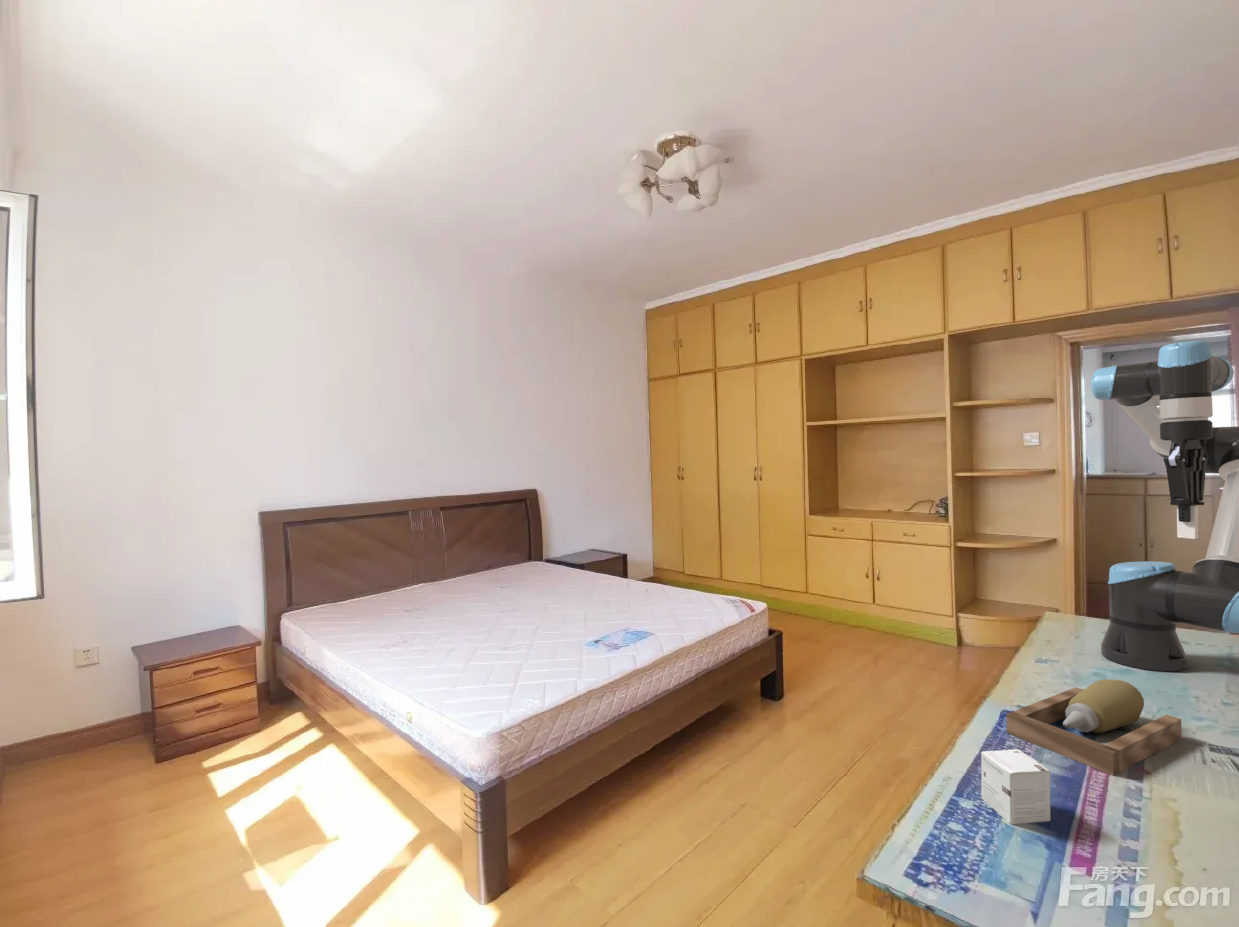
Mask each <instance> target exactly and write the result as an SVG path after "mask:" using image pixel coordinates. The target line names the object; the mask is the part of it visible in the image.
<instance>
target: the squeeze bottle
mask: <svg viewBox="0 0 1239 927" xmlns="http://www.w3.org/2000/svg"><path fill="white" fill-rule="evenodd" d="M1144 700H1145V699H1144V697H1143V695H1142V693H1141V691H1139V689H1138V688H1136V687H1135V686H1134V685H1133V684H1131V683H1129V682H1127V681H1124V680H1121V679H1120V680H1119V679H1098V680H1096V681H1095V682H1093V683H1092V684H1089V686H1087V687H1086V688H1084V689H1083V691H1081V692H1080V693H1079V694H1077V695H1076V696H1074V697H1073V698H1072V699H1071V700H1070V702H1069V704H1068V705H1069V707H1067V708H1066V711H1065V714H1066V718H1064V720H1063V722H1062V726H1063V727H1064V728H1066V729H1074V728H1075V729H1076V730H1077V731H1080V732H1082V733H1093V734H1102V733H1106V732H1109V731H1113V730H1115V729H1119V728H1121V727H1124V726H1129V725H1131V724H1133V723H1135V722H1137V721H1138V720H1139V718H1140V716H1141V715H1142V712H1143V709H1144V706H1145V701H1144Z"/></svg>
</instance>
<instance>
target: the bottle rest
mask: <svg viewBox="0 0 1239 927" xmlns="http://www.w3.org/2000/svg"><path fill="white" fill-rule="evenodd" d="M1083 690H1084V689H1083V688H1080V687H1075V686H1074V687H1073V688H1070V689H1068V690H1064V691H1062V692H1060V693H1057V694H1055V695H1052V696H1049V697H1047V698H1044V699H1041V700H1039V701H1037V702H1034V703H1031V704H1029V705H1026V706H1024V707H1020V708H1018V709H1016V710H1013V711H1011V712H1008V713H1006V734H1009V735H1011V736H1013V737H1015V738H1019V739H1020V740H1021V739H1022V740H1023V741H1026V742H1028V743H1031V744H1033V745H1036V746H1038V747H1041V748H1044V749H1045V750H1049V751H1051V752H1053V753H1056V754H1059V755H1061V756H1063V757H1066V758H1068V759H1071V760H1074V761H1076V762H1078V763H1081V764H1084V765H1086V766H1088V767H1091V768H1092V769H1096V770H1099V771H1101V772H1104V773H1106V774H1108V775H1111V776H1116V775H1117V774H1119V773H1122V772H1123V771H1125V770H1126V769H1129V768H1130V767H1132V766H1134V765H1136V764H1137V763H1140V762H1141V761H1144V760H1146V759H1147V758H1150V757H1151V756H1152V755H1154V754H1157V753H1159V752H1160V751H1162V750H1163V749H1167V747H1169V746H1171V745H1173V744H1175V743H1176V742H1177V743H1178V742H1179V741H1181V740H1182V719H1181V718H1179V717H1175V716H1173V715H1172V716H1171V715H1170V714H1169V715H1168V714H1164V715H1162V716H1161V717H1159V718H1156V719H1154V720H1153V721H1151V722H1147V724H1144V725H1143V726H1140V727H1138V728H1136V729H1134V730H1131V731H1130V732H1128V733H1126V734H1123V735H1121V736H1120V737H1117V738H1115V739H1113V740H1111V741H1110V742H1107V743H1105V744H1103V743H1101V742H1098V741H1096V740H1092V739H1090V738H1087V737H1084V736H1082V735H1079V734H1075V733H1074V732H1071V731H1068V730H1065V729H1062V728H1060V727H1057V726H1055V725H1052V724H1054V722H1055V723H1056V721H1057V722H1059V721H1062V720H1065V719H1066V714H1065V711H1066V708H1067V707H1069V705H1068V704H1069V702H1070V700H1071V699H1072V698H1073V697H1074V696H1076V695H1077V694H1079V693H1080V692H1081V691H1083ZM1061 719H1062V720H1061ZM1058 720H1059V721H1058ZM1049 724H1050V725H1049Z"/></svg>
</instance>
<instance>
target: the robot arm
mask: <svg viewBox="0 0 1239 927" xmlns="http://www.w3.org/2000/svg"><path fill="white" fill-rule="evenodd" d="M1157 359H1158V360H1157V361H1156V360H1155V361H1147V362H1146V361H1145V362H1141V363H1130V364H1120V365H1116V364H1115V365H1112V366H1108V367H1102V368H1101V367H1100V368H1098V369H1097V370H1095V371H1094V372H1093V374H1092V377H1091V379H1090V380H1091V381H1090V386H1091V387H1090V388H1091V392H1092V395H1093V396H1094V398H1095V399H1097V400H1101V401H1105V400H1106V401H1107V400H1108V401H1111V400H1115V401H1116V402H1117V404H1119V405H1120V407H1121V408H1122V409H1123V410H1124V411H1125V412H1126V413H1127V414H1128V415H1129V417H1130V418H1131V419H1132V420H1133V421H1134V422H1135V423H1136V425H1138V426H1139V428H1140V429H1141V430H1142V431H1143V432H1144V433H1145V434H1146V436H1147V437H1148V438H1149V439H1150V440H1149V443H1150V446H1151V448H1152V449H1153V451H1154V452H1156V454H1157V455H1159V456H1160V457H1161V458H1163V462H1164V465H1165V469H1166V475H1167V476H1166V477H1167V482H1168V489H1169V490H1168V491H1169V496H1170V502H1169V504H1170V506H1176V535H1177V536H1176V537H1177V538H1179V539H1180V538H1181V539H1182V538H1183V539H1191V540H1192V539H1193V540H1196V539H1197V540H1198V539H1199V506H1205V501H1204V494H1205V493H1204V492H1205V484H1206V483H1205V482H1206V474H1215V475H1216V474H1219V476H1220V478H1221V479H1222V480H1223V481H1224V485H1223V489H1222V493H1221V496H1220V500H1219V504H1218V508H1217V512H1216V515H1215V519H1214V524H1213V528H1212V531H1211V535H1210V538H1209V544H1208V546H1207V551H1206V556H1205V558H1202V559H1199V560H1197V561H1196V562H1194V564H1193V567H1192V570H1191V571H1182V570H1176V569H1177V567H1176V566H1175V564H1174V563H1172V562H1166V561H1154V560H1153V561H1151V560H1150V561H1144V560H1143V561H1128V562H1120V563H1116V564H1113V565H1111V567H1110V568H1109V570H1108V571H1109V572H1108V573H1109V574H1108V575H1109V576H1108V581H1107V584H1108V602H1109V604H1108V605H1109V624H1108V627H1107V630H1106V632H1105V634H1104V637H1103V639H1102V642H1101V643H1100V644H1101V645H1100V650H1101V651H1100V652H1101V655H1102V657H1104V658H1105V659H1106V660H1109V661H1112V662H1114V663H1117V664H1120V665H1123V666H1128V667H1132V668H1137V669H1142V670H1150V671H1159V672H1179V671H1183V670H1187V668H1188V656H1187V654H1186V652H1185V650H1184V647H1183V645H1182V643H1181V640H1180V637H1179V636H1178V633H1177V627H1176V626H1177V623H1178V624H1184V625H1189V626H1194V627H1202V628H1205V629H1212V630H1216V631H1217V630H1218V631H1224V632H1227V633H1230V634H1239V426H1219V427H1218V426H1217V427H1216V426H1214V427H1213V421H1212V420H1211V419H1210V420H1209V418H1212V417H1213V411H1214V410H1213V395H1212V394H1213V392H1217V391H1219V390H1222V389H1224V388H1225V387H1226V386H1228V385H1229V384H1230V383H1231V381H1232V379H1233V378H1234V373H1235V372H1234V367H1233V365H1232V364H1231V363H1230V362H1229V361H1228V360H1227V359H1224V358H1223V357H1221V356H1218V355H1214V354H1213V352H1212V348H1211V343H1210V342H1209V341H1207V340H1190V341H1183V342H1182V341H1181V342H1174V343H1169V344H1166V345H1163V346H1162V347H1160V349H1159V351H1158V358H1157Z"/></svg>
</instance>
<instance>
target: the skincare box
mask: <svg viewBox="0 0 1239 927" xmlns="http://www.w3.org/2000/svg"><path fill="white" fill-rule="evenodd" d="M980 755H981V757H980V758H981V761H980V762H981V799H982V800H983V801H984V802H985V803H986V804H987V805H988V806H990V808H992V810H994V811H995V812H996V813H998V814H999V815H1000V816H1001V817H1002V818H1004V820H1005V821H1007V822H1008V824H1011V825H1018V824H1019V825H1021V824H1031V823H1042V822H1043V823H1044V822H1050V821H1051V770H1049V769H1048V768H1047V767H1045V766H1044V765H1042V764H1040V763H1039V762H1038V761H1037V760H1036V759H1035V758H1033V757H1031V756H1029V755H1027V754H1026V753H1024V752H1023V751H1022V750H1020V749H1017V748H1016V749H1004V750H1003V749H1002V750H984V751H981V754H980Z"/></svg>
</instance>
